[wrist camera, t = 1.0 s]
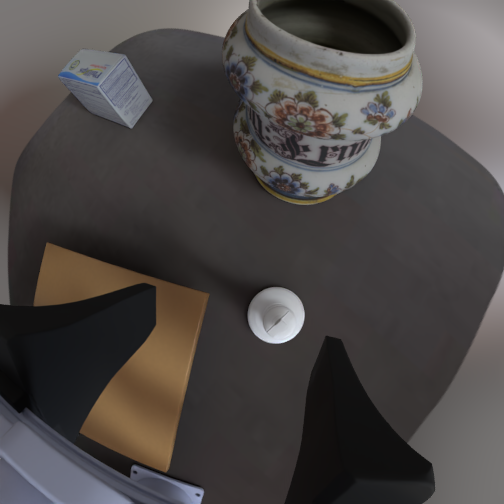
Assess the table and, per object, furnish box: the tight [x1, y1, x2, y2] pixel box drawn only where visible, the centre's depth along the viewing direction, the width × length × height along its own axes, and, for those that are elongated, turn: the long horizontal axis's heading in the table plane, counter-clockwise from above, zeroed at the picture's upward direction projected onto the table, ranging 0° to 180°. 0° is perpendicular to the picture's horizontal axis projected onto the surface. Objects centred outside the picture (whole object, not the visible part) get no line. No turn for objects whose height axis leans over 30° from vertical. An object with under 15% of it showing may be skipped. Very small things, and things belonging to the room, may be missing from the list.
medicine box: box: [58, 49, 153, 129], centre depth 26 cm, size 8×4×9 cm, turn 61°
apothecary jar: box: [222, 0, 422, 205], centre depth 19 cm, size 12×12×18 cm
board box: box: [33, 242, 209, 472], centre depth 24 cm, size 17×17×4 cm
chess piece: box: [248, 287, 305, 343], centre depth 20 cm, size 5×5×10 cm
